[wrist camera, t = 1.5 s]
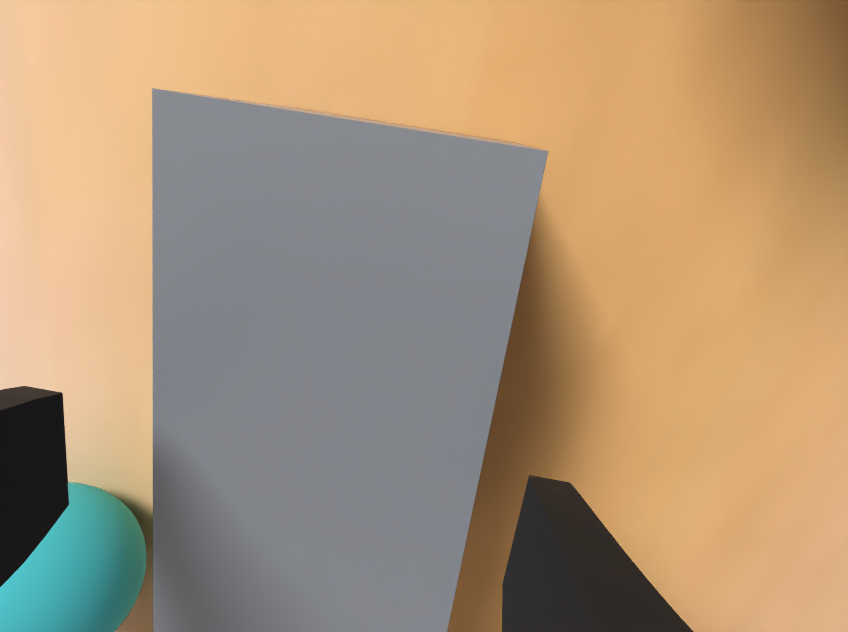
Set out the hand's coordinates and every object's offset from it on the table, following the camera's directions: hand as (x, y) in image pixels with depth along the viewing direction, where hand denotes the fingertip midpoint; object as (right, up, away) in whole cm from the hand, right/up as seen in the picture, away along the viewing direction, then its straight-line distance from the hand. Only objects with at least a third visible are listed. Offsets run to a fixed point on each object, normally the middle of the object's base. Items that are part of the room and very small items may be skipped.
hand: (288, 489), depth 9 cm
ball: (-9, -5, +8) cm, 12 cm away
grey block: (+1, +2, +7) cm, 8 cm away
